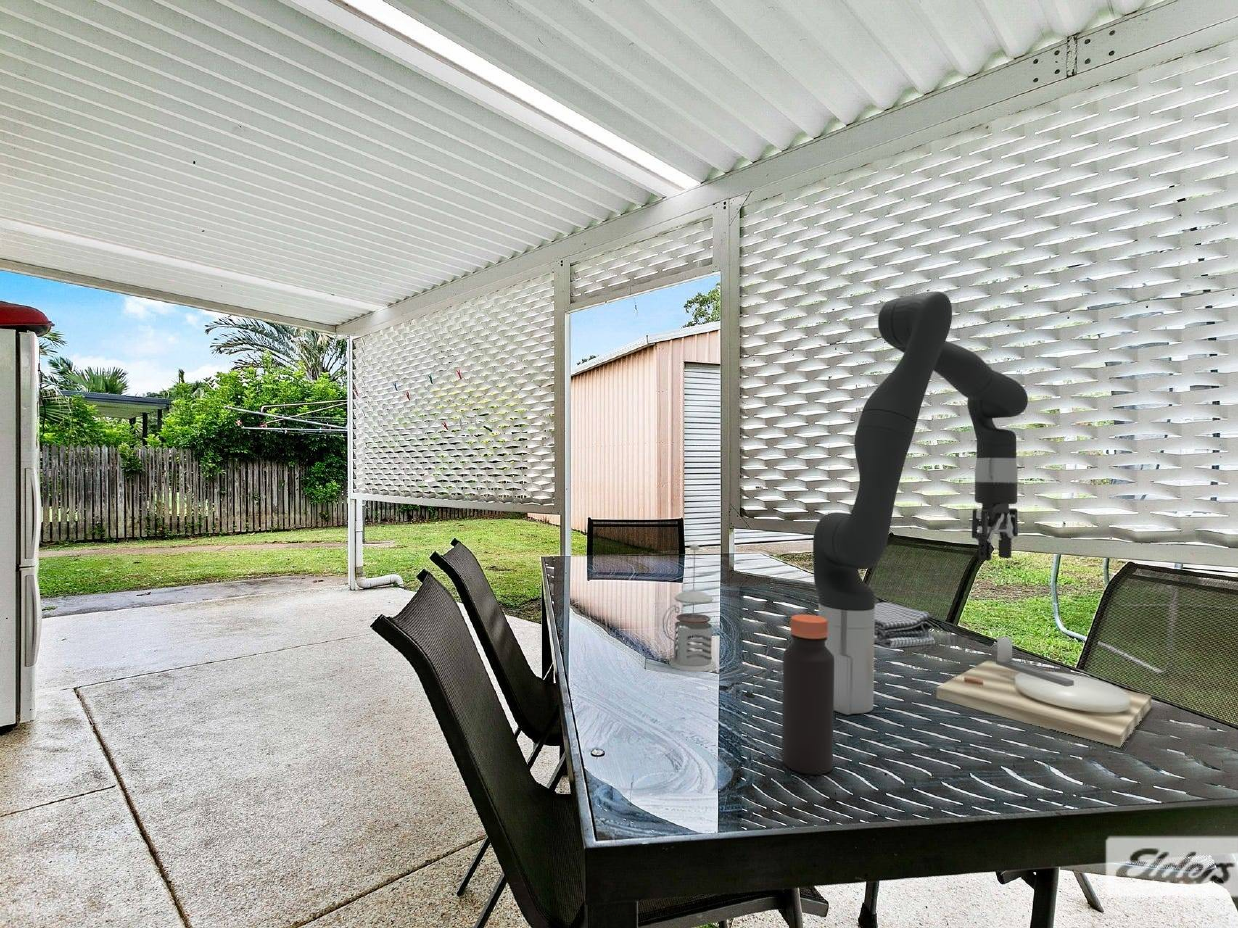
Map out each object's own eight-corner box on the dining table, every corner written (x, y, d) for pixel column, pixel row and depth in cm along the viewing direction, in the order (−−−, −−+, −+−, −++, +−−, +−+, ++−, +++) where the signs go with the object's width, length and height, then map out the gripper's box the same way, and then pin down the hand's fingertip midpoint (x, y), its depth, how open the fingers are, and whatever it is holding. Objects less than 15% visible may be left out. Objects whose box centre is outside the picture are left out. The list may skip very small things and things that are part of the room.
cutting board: (1119, 748, 91) (1119, 731, 91) (936, 698, 111) (936, 683, 111) (1151, 707, 108) (1151, 692, 108) (987, 669, 128) (987, 657, 128)
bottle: (772, 763, 85) (774, 617, 85) (797, 748, 89) (799, 610, 90) (817, 781, 80) (820, 627, 80) (841, 764, 84) (844, 619, 85)
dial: (1118, 720, 95) (1119, 677, 95) (973, 684, 111) (974, 647, 111) (1138, 697, 106) (1138, 658, 106) (1003, 667, 121) (1004, 633, 121)
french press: (725, 668, 125) (727, 546, 126) (674, 674, 121) (676, 547, 121) (701, 655, 134) (703, 540, 135) (653, 660, 130) (655, 542, 131)
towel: (881, 627, 164) (882, 597, 164) (938, 646, 146) (938, 613, 147) (834, 631, 159) (835, 600, 159) (887, 651, 142) (887, 616, 142)
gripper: (998, 480, 120) (997, 563, 119) (1031, 481, 128) (1031, 559, 127) (959, 479, 126) (958, 558, 126) (993, 480, 134) (992, 554, 134)
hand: (995, 559), depth 127 cm, fingers open, 8 cm apart
